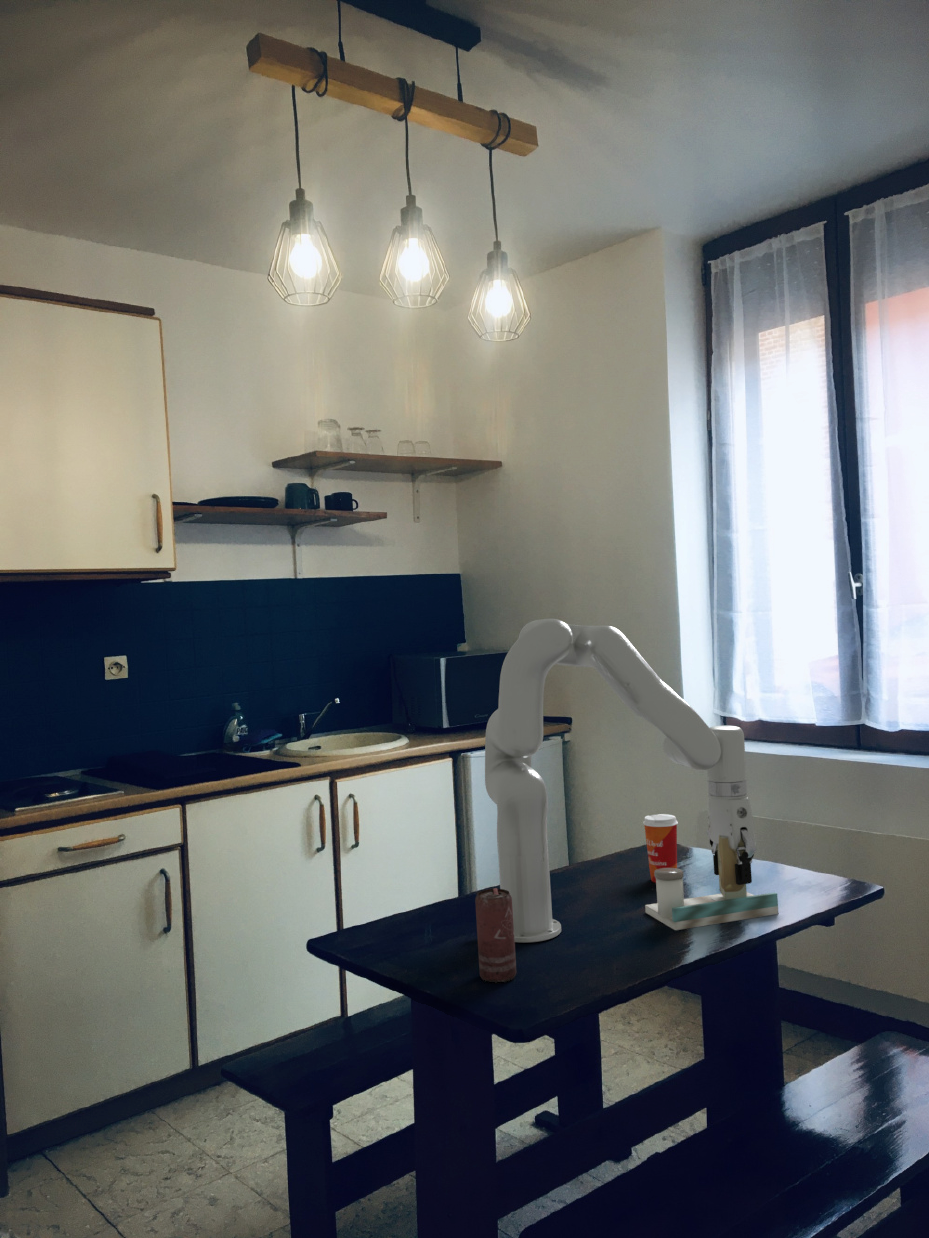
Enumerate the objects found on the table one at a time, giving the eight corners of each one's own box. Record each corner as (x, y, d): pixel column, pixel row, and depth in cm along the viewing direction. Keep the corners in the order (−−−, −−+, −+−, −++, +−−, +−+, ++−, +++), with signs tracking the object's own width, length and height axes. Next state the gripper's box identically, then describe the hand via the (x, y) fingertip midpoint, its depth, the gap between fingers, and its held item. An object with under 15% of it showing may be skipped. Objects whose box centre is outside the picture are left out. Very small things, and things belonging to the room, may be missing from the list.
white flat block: (675, 930, 174) (673, 909, 174) (645, 912, 185) (644, 892, 185) (778, 913, 180) (777, 893, 180) (743, 897, 191) (742, 878, 191)
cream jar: (665, 919, 176) (662, 876, 176) (652, 911, 181) (649, 869, 181) (691, 915, 177) (688, 872, 177) (677, 907, 182) (674, 866, 182)
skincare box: (718, 890, 188) (715, 830, 188) (741, 890, 188) (737, 829, 188) (725, 900, 182) (721, 837, 182) (747, 899, 182) (744, 836, 182)
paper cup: (640, 878, 210) (636, 816, 210) (670, 873, 212) (666, 812, 212) (657, 887, 202) (653, 822, 203) (688, 882, 205) (684, 818, 205)
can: (514, 968, 159) (509, 885, 159) (518, 982, 153) (512, 896, 153) (479, 970, 159) (474, 888, 159) (481, 985, 153) (475, 899, 153)
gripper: (769, 793, 178) (775, 887, 178) (720, 780, 195) (725, 866, 194) (734, 797, 176) (740, 892, 176) (688, 784, 193) (693, 871, 192)
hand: (732, 878), depth 185 cm, fingers closed on skincare box, 7 cm apart
